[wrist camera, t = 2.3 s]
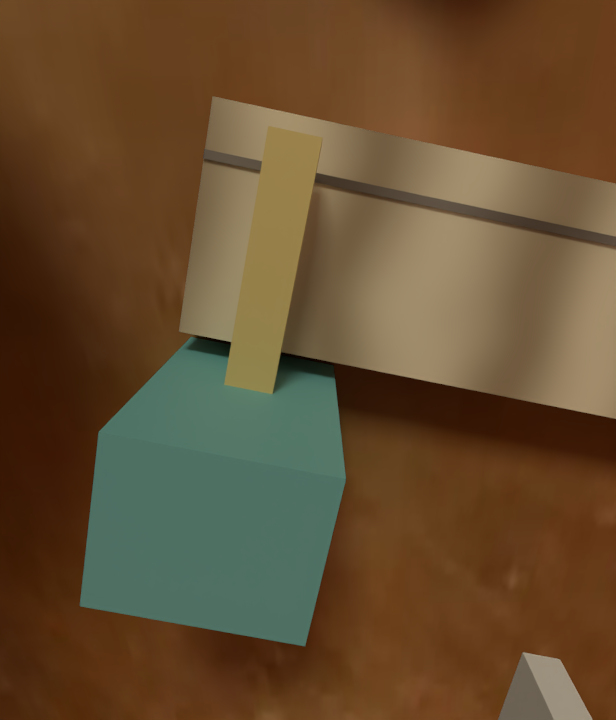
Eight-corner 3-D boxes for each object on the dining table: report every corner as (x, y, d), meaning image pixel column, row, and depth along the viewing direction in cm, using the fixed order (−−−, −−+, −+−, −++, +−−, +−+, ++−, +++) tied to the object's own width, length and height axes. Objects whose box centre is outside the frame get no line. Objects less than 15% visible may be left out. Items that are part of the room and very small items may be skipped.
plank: (193, 318, 22) (178, 332, 20) (224, 109, 20) (212, 95, 18) (729, 426, 23) (779, 452, 21) (812, 236, 21) (878, 240, 19)
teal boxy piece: (174, 446, 24) (80, 606, 14) (221, 132, 21) (138, 66, 11) (309, 472, 24) (304, 646, 15) (378, 166, 21) (431, 130, 11)
